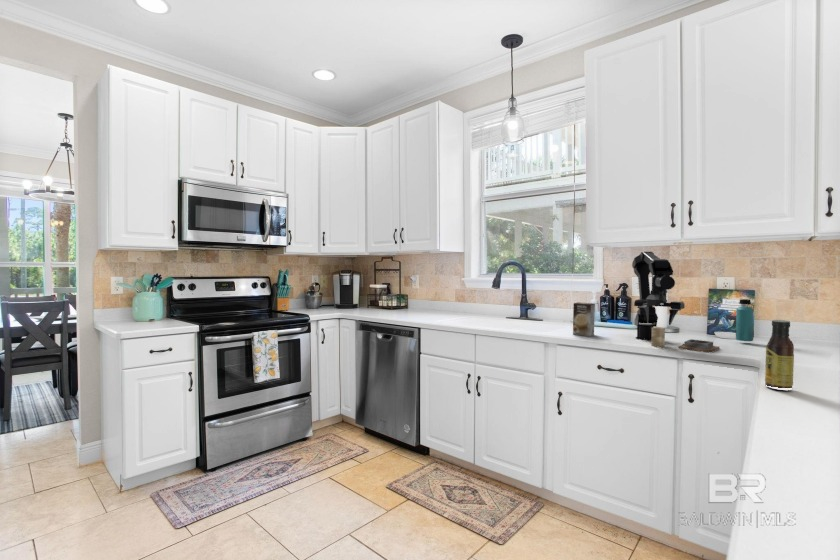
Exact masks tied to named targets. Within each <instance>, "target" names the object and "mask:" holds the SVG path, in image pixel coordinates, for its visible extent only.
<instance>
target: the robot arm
mask: <svg viewBox="0 0 840 560" xmlns="http://www.w3.org/2000/svg"><path fill="white" fill-rule="evenodd" d="M631 267H632V269H633V273H634V274H635V275H636V277H637V280H638V293H639V299H635V300H634V302H633V306H634V307H637V311H636V315H635V318H634V321H633V322H634V326H636V327H637V328H636V330H637V331H636V336H635V339H640V340H646V341H651V338H652V328H653V327H657V325H658V319H659V317H658V314H657V310H656V307H663V308H665V307H667V308H670V309H668V311H669V317H668V326H671V325H672V323H673V321H674V319H675V317H676V315H677V313H678V312H679V311H681V310H683V309H685V307H686V306H685V303H684V301H670V302H668V299H667V293H668V290H672V289H673V288H675V285H676V281H675V278H673V277H672V276H673V274H674V269H673V267H672V264H671V262H670V261H669V259H666V258H660V257H658V256H657V255H655V254H654V251H642V252H640V253H639V255H637V256H635V257H634V259H633V260H632V264H631ZM650 274H651V288H650V279H649V278H650V276H649V275H650Z"/></svg>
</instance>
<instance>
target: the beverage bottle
mask: <svg viewBox="0 0 840 560" xmlns="http://www.w3.org/2000/svg"><path fill="white" fill-rule="evenodd" d="M751 304H752V303H751V299H746V298H741V299H739V305H751ZM735 311H736V321H735V339H736V340H737V341H740V342H754V335H755V334H754V308H753V307H751V306H738V307H736V309H735Z"/></svg>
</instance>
